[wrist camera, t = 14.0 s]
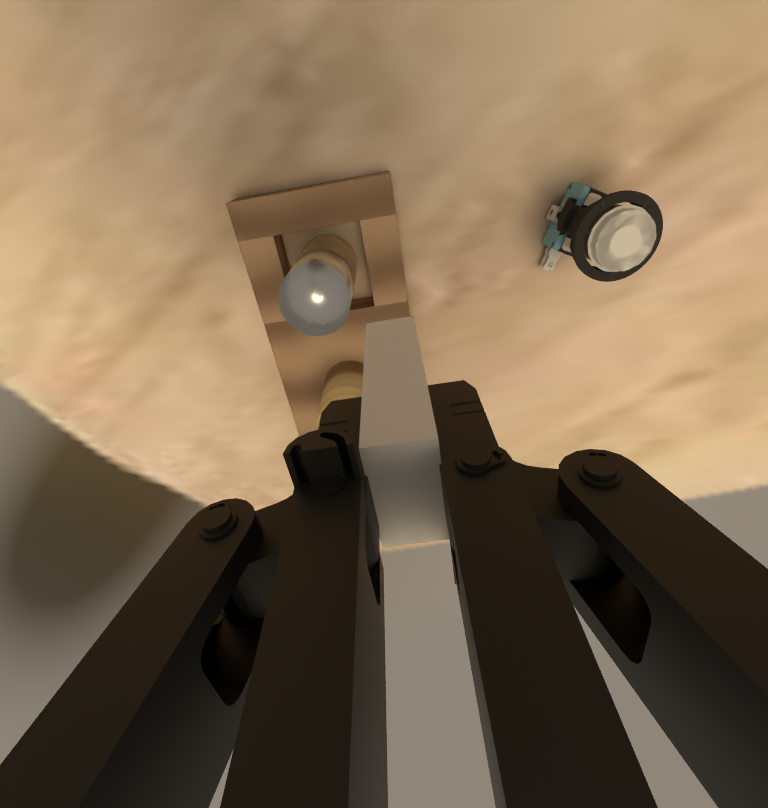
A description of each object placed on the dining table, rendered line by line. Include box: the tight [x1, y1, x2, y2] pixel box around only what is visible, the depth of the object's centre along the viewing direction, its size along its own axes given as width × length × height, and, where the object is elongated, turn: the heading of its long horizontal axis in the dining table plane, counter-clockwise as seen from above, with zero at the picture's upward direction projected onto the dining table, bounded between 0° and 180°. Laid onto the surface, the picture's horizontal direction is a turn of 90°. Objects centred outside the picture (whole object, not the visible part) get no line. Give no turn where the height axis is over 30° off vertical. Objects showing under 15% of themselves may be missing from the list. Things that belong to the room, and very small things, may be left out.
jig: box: [226, 171, 410, 436], centre depth 35 cm, size 22×12×10 cm, turn 9°
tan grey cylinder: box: [278, 235, 357, 336], centre depth 32 cm, size 5×5×10 cm
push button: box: [540, 182, 663, 282], centre depth 31 cm, size 7×5×10 cm
